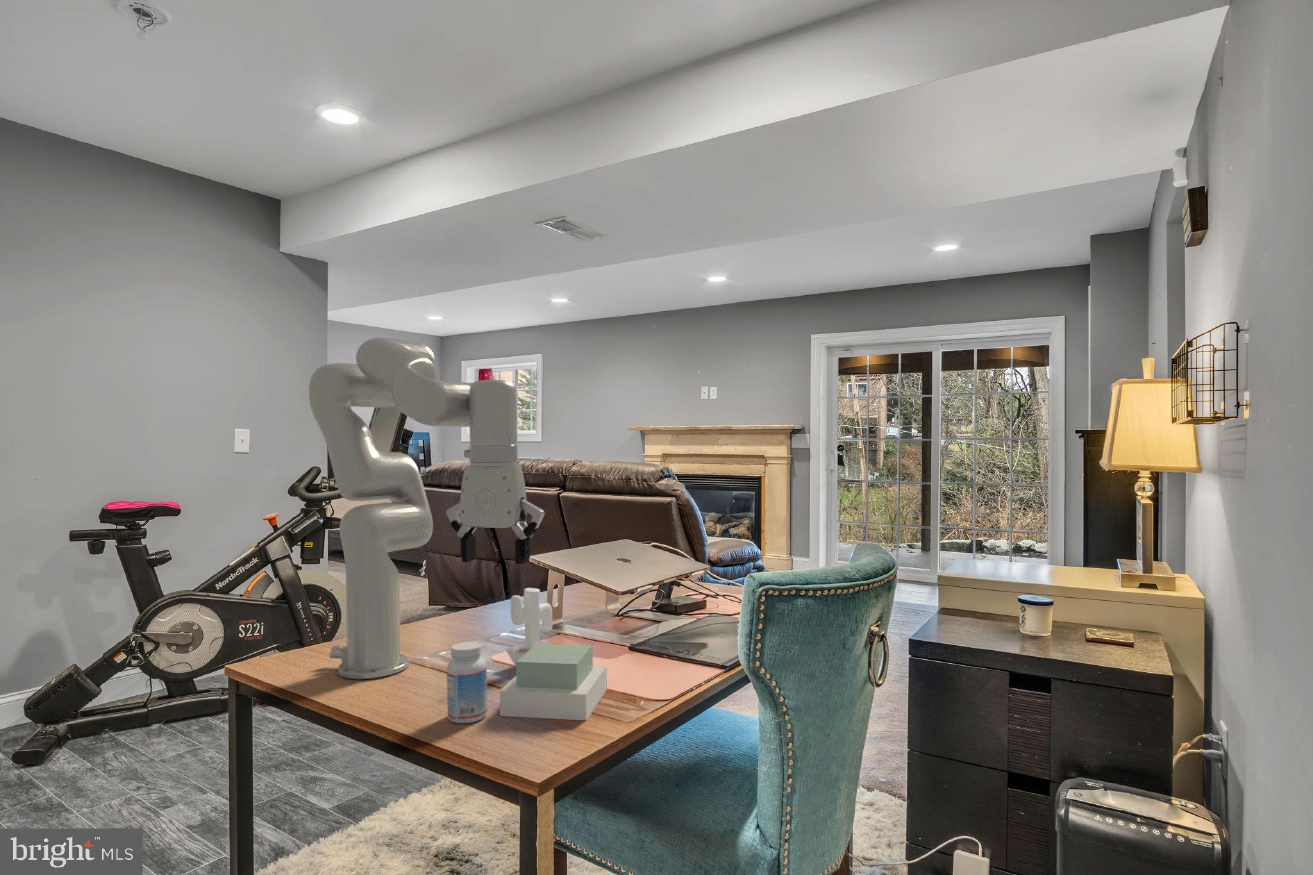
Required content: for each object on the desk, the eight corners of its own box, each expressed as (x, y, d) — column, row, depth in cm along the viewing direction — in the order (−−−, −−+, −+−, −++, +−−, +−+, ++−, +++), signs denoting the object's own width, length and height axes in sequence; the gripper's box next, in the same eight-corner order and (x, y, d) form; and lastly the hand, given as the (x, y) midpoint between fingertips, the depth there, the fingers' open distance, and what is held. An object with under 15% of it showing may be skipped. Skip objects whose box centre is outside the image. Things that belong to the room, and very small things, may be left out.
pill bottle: (494, 711, 113) (493, 641, 113) (475, 726, 107) (475, 652, 107) (459, 708, 114) (458, 639, 114) (439, 723, 108) (439, 650, 108)
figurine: (563, 663, 136) (562, 586, 136) (526, 677, 129) (525, 595, 129) (537, 657, 141) (537, 582, 141) (500, 669, 133) (500, 590, 133)
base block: (500, 715, 110) (499, 690, 111) (530, 685, 124) (529, 662, 124) (586, 720, 108) (586, 694, 108) (607, 688, 122) (606, 665, 122)
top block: (516, 686, 112) (516, 661, 112) (536, 666, 122) (536, 643, 122) (577, 689, 111) (576, 663, 111) (592, 669, 120) (592, 645, 120)
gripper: (434, 457, 113) (435, 564, 113) (531, 456, 108) (532, 568, 108) (460, 456, 120) (461, 556, 120) (552, 455, 115) (553, 560, 115)
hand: (495, 562), depth 114 cm, fingers open, 9 cm apart
